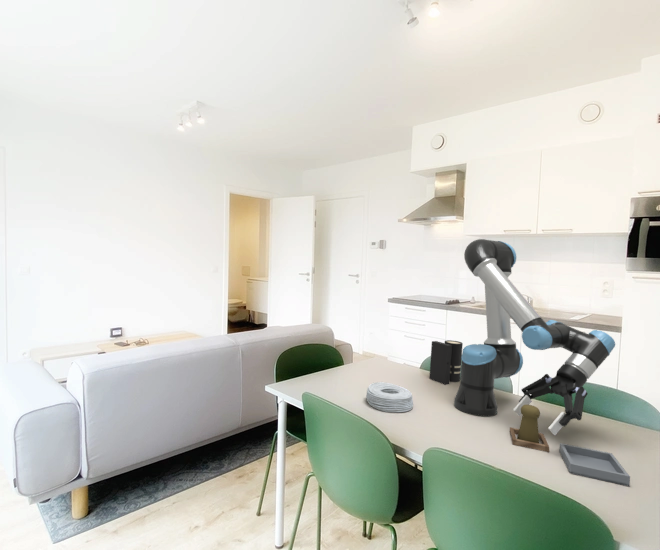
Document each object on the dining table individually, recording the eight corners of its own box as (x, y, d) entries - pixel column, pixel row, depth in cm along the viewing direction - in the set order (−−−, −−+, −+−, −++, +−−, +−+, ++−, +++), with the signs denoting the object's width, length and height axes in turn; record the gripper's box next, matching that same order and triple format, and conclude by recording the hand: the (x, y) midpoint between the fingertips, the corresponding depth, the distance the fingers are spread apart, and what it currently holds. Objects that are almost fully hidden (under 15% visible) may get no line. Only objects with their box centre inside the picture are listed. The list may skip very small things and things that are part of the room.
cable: (368, 393, 147) (369, 379, 146) (412, 399, 143) (413, 384, 143) (363, 410, 129) (364, 393, 129) (413, 417, 126) (414, 399, 126)
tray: (570, 473, 95) (570, 463, 95) (559, 451, 106) (559, 442, 106) (629, 486, 90) (630, 476, 90) (611, 462, 102) (611, 453, 102)
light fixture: (465, 381, 170) (467, 343, 170) (445, 385, 163) (448, 345, 163) (448, 375, 179) (450, 339, 178) (428, 378, 171) (431, 341, 171)
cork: (513, 436, 114) (515, 402, 114) (531, 436, 115) (533, 402, 115) (524, 446, 108) (527, 409, 108) (544, 446, 109) (546, 410, 109)
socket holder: (512, 444, 109) (512, 439, 109) (509, 431, 118) (509, 427, 118) (548, 452, 106) (549, 447, 106) (542, 438, 114) (543, 433, 114)
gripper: (622, 393, 103) (576, 450, 99) (548, 368, 127) (509, 413, 123) (608, 375, 101) (561, 432, 98) (537, 353, 125) (497, 398, 122)
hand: (532, 421), depth 111 cm, fingers open, 13 cm apart
